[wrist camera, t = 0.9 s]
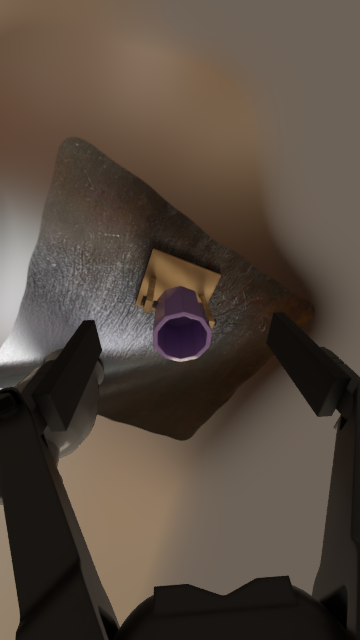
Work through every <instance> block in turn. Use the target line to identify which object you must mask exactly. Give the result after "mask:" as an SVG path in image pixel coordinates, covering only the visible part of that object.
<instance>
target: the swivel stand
mask: <svg viewBox="0 0 360 640" xmlns="http://www.w3.org/2000/svg"><path fill="white" fill-rule="evenodd" d="M220 277H221V274H220V273H217V272H215V271H212V270H209V269H207V268H204V267H202V266H199V265H196V264H194V263H191V262H189V261H186V260H184V259H181V258H178V257H176V256H173V255H171V254H168V253H165V252H163V251H160V250H158V249H155V248H153V250H152V254H151V257H150V260H149V263H148V266H147V269H146V273H145V276H144V279H143V282H142V285H141V288H140V292H139V295H138V298H137V301H136V304H135V305H137V306H140V307H143V311H145V312H148V313H149V311H150V310H153V311H155V309H156V308H152V304H153V301H154V300H155V301H157V299H158V298H159V297H160V296H161V295H162V293H163V292H164V291H165V290H166V289H170V288H174V287H178V286H183V287H185V288H188V289H191V290H194V291H195V292H196V294H197V295H198V297H199V298H200V300H201V301H202V304H203V306H204V309H205V312H206V315H207V318H208V321H209V324H210V327H211V329H212V328H214V327H215V325H216V319H214V318H213V315H212V313H211V310H210V308H209V305H208V301H209V299H210V297H211V295H212V293H213V291H214V289H215V287H216V285H217V283H218V281H219V279H220Z"/></svg>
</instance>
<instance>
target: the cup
mask: <svg viewBox="0 0 360 640" xmlns="http://www.w3.org/2000/svg"><path fill="white" fill-rule="evenodd" d="M152 308H156V309H155V317H154V326H153V346H154V347H155V348H156V349H157V351H158V352H159V353H160V354H161V355H162V356H163V357H164V358H167V359H171V360H174V361H178V362H183V361H187V360H191V359H196V358H198V357H199V356H200V355H201V354H202V353H203V352H204V351H206V350H207V349H208V348H209V346H210V341H211V335H212V330H211V327H210V324H209V321H208V318H207V315H206V312H205V309H204V306H203V304H202V301H201V300H200V298H199V297H198V295H197V294H196V292H195V291H194V290H191V289H188V288H185V287H183V286H178V287H174V288H170V289H166V290H165V291H164V292H163V293H162V295H161V296H160V297H159V298H158V299H157V301H155V300H154V301H153V304H152Z"/></svg>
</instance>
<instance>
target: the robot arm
mask: <svg viewBox="0 0 360 640" xmlns="http://www.w3.org/2000/svg"><path fill="white" fill-rule="evenodd" d="M267 344H268V346H269V347H270V349H271V350H272V352H273V353H274V355H275V356H276V357H277V359H278V360H279V362H280V363H281V365H282V366H283V367H284V369H285V370H286V372H287V373H288V375H289V376H290V377H291V379H292V381H293V382H294V383H295V385H296V386H297V388H298V389H299V391H300V392H301V394H302V395H303V396H304V398H305V399H306V401H307V402H308V404H309V405H310V407H311V408H312V409H313V411H314V412H315V414H316V415H317V416H318V417H322V416H332V414H333V412H334V411H335V409H337V410H338V411H339V413H340V414H341V415H340V417H339V419H338V421H337V422H336V424H335V426H334V428H335V429H336V428H337V434H336V443H335V451H334V459H333V467H332V475H331V483H330V492H329V499H328V507H327V515H326V523H325V532H324V540H323V548H322V556H321V563H320V567H319V571H318V573H317V576H316V578H315V582H314V586H313V592H312V596H311V595H309V594H308V593H307V592H305V591H303V590H301V589H299V588H297V587H295V586H293V585H291V582H290V578H289V576H278V577H265V578H256V579H254V580H252V581H250V582H249V583H247V584H245V585H243V586H242V587H240V588H238V589H236V590H235V591H233V592H231V593H229V594H228V595H223V596H222V595H219V594H216V593H213V592H209V591H207V590H204V589H200V588H198V587H195V586H192V585H189V584H182V585H170V586H157V587H154V595H153V596H151V597H149V598H147V599H146V600H145V601H143V602H142V603H141V604H139V605H138V606H137V607H136V609H134V610H133V611H132V612H131V614H130V615H129V616H128V617H127V619H126V620H125V621H124V623H123V624H122V626H121V627H120V626H119V624H118V621H117V618H116V616H115V614H114V611H113V608H112V606H111V603H110V601H109V599H108V596H107V595H106V592H105V590H104V588H103V586H102V584H101V581H100V579H99V576H98V574H97V571H96V569H95V566H94V564H93V561H92V558H91V555H90V553H89V550H88V548H87V545H86V542H85V540H84V537H83V535H82V532H81V529H80V527H79V524H78V522H77V519H76V516H75V513H74V511H73V508H72V506H71V503H70V500H69V498H68V495H67V492H66V490H65V487H64V485H63V482H62V479H61V477H60V474H59V472H58V469H57V466H56V464H55V461H54V458H53V456H52V453H51V450H50V448H49V445H48V443H47V440H46V437H45V435H44V433H43V432H44V430H45V428H46V427H47V426H48V427H49V429H50V431H51V432H63V431H67V429H68V426H69V424H70V422H71V420H72V417H73V415H74V413H75V411H76V408H77V406H78V404H79V402H80V399H81V397H82V395H83V392H84V390H85V388H86V386H87V383H88V381H89V379H90V377H91V374H92V372H93V370H94V368H95V365H96V363H97V361H98V359H99V356H100V354H101V352H102V348H101V344H100V341H99V337H98V333H97V329H96V325H95V321H94V320H83V322H82V323H81V325H80V326H79V327H78V329H77V330H76V332H75V333H74V335H73V336H72V337H71V339H70V340H69V342H68V343H67V344H66V346H65V347H64V349H63V350H62V351H61V353H60V354H59V356H58V357H57V359H56V360H49V361H47V362H46V363H45V364H43V365H42V366H41V367H40V368H39V369H38V371H37V372H36V374H35V375H34V376H33V377H32V379H31V380H30V381H29V382H28V384H27V385H26V386H25V388H24V389H23V390H22V392H21V393H20V392H19V390H18V389H17V388H14V387H9V388H4V389H1V390H0V486H1V493H2V499H3V505H4V512H5V518H6V525H7V531H8V538H9V544H10V550H11V556H12V563H13V570H14V577H15V583H16V589H17V596H18V602H19V609H20V623H19V626H18V629H17V631H16V640H360V377H359V376H358V375H357V374H356V373H355V372H354V371H353V370H351V368H349V367H348V366H347V365H346V364H344V362H343V361H342V360H341V359H339V357H337V356H336V355H335V354H334V353H333V352H332V351H330V350H328V349H326V348H325V347H319V346H318V345H317V344H316V343H315V342H314V341H313V340H312V339H311V338H310V337H308V336H307V334H305V333H304V332H303V331H302V330H301V329H300V328H299V327H298V326H297V325H296V324H295V323H294V322H293V321H292V320H291V319H290V318H289V317H288V316H287V315H286V314H285V313H284V312H279V313H273V317H272V321H271V326H270V330H269V334H268V339H267Z"/></svg>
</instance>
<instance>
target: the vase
mask: <svg viewBox="0 0 360 640" xmlns="http://www.w3.org/2000/svg"><path fill="white" fill-rule="evenodd" d="M62 350H63V349H60V350H56V351H54V352H52V353H51V354H49V355H48V356H47V358H46V359H45V362H44V364H45V363H46V362H47V361H49V360H56V359H57V357H58V356H59V354H60V353H61V351H62ZM40 367H41V366H40ZM40 367H38V368H37V369H35V370H33V371H32V372H30V373H29V374H28V375H27V376H26V377H25V378H24V379H23V380H22V381H21V382H19V383H18V384H17V385H16V386H15V387H14V388H17V389H18V390H19V392H20V393H21V392H22V390H23V389H24V388H25V386H26V385H27V384H28V382H29V381H30V380H31V379H32V377H33V376H34V375H35V374H36V372H37V371H38V369H39V368H40ZM103 378H104V370H103V368H102V366H101V364H100V363H99V362H98V361H97V363H96V365H95V368H94V370H93V372H92V374H91V377H90V379H89V381H88V383H87V386H86V388H85V390H84V392H83V395H82V397H81V399H80V402H79V404H78V406H77V408H76V411H75V413H74V415H73V417H72V420H71V422H70V424H69V426H68V429H67V431H63V432H51V431H50V429H49V427H48V426H47V427H46V428H45V430H44V432H43V433H44V435H45V437H46V440H47V443H48V445H49V448H50V450H51V453H52V456H53V458H54V461H55V464H56V466H58V461H59V458H62V457H64V456H66V455H69V454H70V453H72V452H73V451H74V450H76V449H77V447H78V446H79V445H80V444H81V443H82V442H83V441H84V440H85V438H86V437H87V436H88V435H89V433H90V431H91V430H92V428H93V426H94V423H95V419H96V416H97V411H98V405H99V400H100V392H99V385H100V384H101V383H102V381H103ZM60 477H61V475H60ZM61 479H62V477H61ZM62 482H63V480H62ZM0 504H1V505H3V499H2V493H1V486H0Z"/></svg>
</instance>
